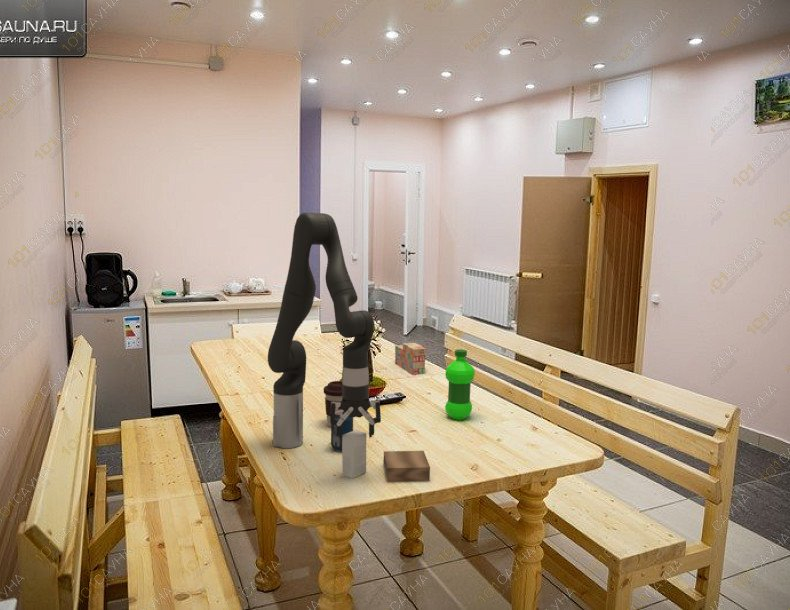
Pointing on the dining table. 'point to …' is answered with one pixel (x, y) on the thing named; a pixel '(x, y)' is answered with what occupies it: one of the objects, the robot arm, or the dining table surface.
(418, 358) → the printed snack box
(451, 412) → the plastic bottle
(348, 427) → the soda can
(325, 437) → the dining table surface
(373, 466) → the dining table surface
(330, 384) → the coffee cup
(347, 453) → the skincare box
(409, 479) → the walnut base
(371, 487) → the dining table surface
